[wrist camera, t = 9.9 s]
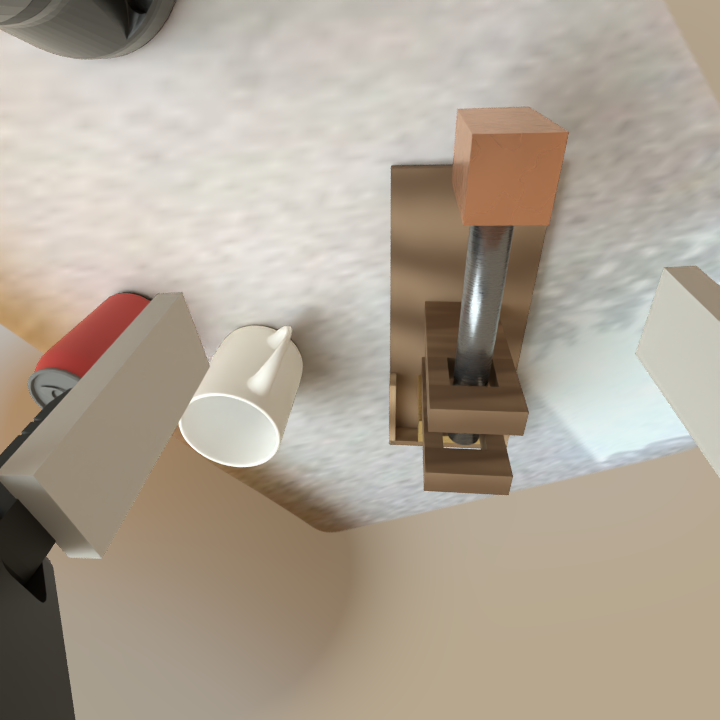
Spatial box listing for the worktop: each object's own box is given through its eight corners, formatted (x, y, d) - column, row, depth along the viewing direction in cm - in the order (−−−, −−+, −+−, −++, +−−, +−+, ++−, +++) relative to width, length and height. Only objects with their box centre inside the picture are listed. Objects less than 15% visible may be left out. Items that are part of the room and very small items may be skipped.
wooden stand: (391, 165, 34) (380, 238, 22) (555, 163, 33) (638, 238, 21) (390, 424, 50) (383, 549, 38) (501, 428, 49) (530, 559, 37)
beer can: (107, 279, 42) (17, 352, 33) (176, 306, 43) (108, 384, 34) (103, 332, 46) (21, 411, 36) (167, 355, 47) (103, 439, 37)
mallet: (457, 108, 26) (472, 134, 19) (529, 106, 25) (569, 132, 19) (434, 395, 38) (439, 468, 32) (482, 396, 38) (497, 470, 32)
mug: (339, 330, 43) (321, 404, 35) (279, 402, 50) (251, 480, 41) (261, 280, 41) (220, 346, 32) (208, 362, 47) (163, 436, 39)
